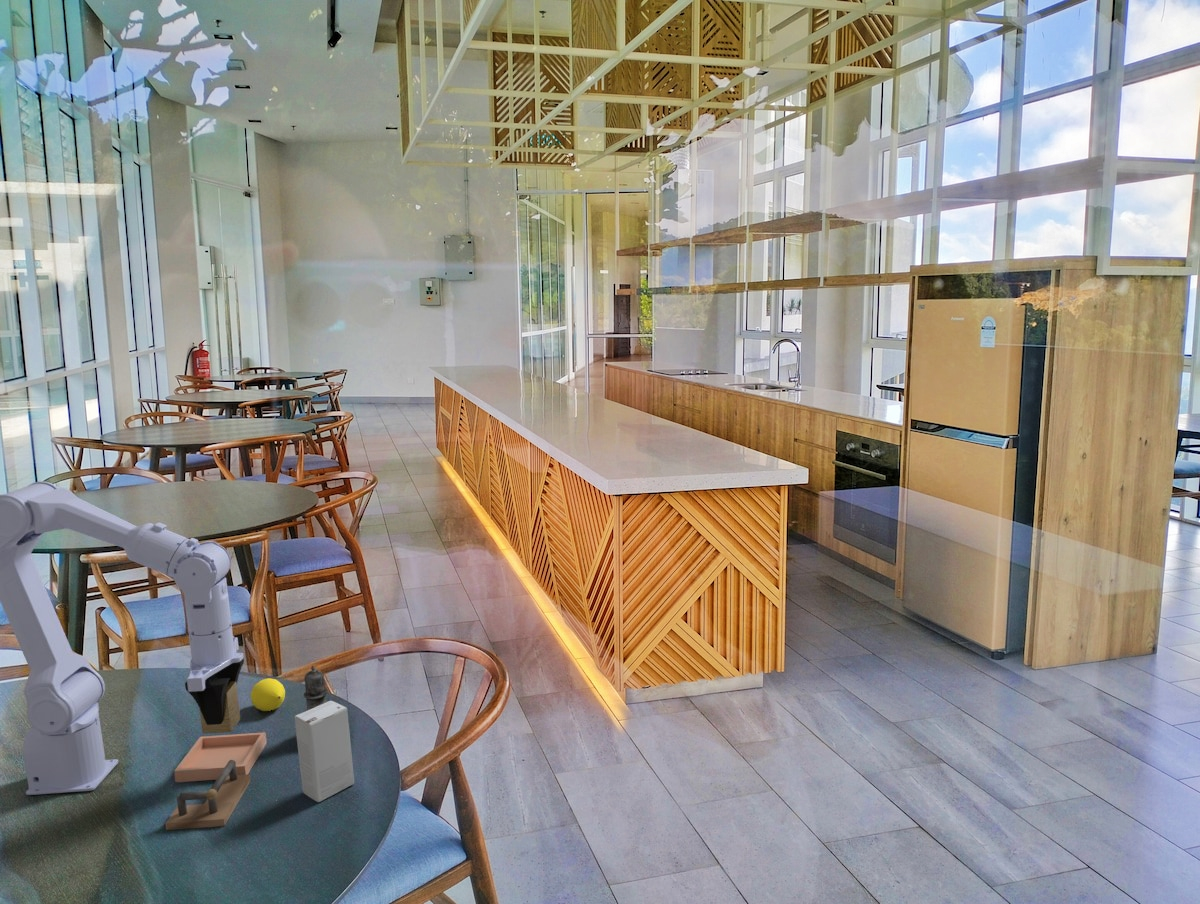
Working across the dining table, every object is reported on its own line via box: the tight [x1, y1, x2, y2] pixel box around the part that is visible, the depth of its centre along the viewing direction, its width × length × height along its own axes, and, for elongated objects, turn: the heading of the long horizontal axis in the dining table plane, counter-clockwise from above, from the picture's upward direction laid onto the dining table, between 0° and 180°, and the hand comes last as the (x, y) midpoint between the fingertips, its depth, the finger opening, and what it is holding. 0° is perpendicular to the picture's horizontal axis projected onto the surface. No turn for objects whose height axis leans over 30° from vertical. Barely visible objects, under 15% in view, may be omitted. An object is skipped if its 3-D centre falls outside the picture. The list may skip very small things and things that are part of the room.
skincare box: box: [294, 700, 355, 803], centre depth 121 cm, size 6×4×12 cm
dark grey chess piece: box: [303, 665, 328, 711], centre depth 137 cm, size 6×6×12 cm
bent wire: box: [164, 760, 252, 831], centre depth 120 cm, size 8×11×4 cm
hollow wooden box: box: [199, 681, 241, 734], centre depth 127 cm, size 4×4×6 cm
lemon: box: [249, 677, 286, 712], centre depth 147 cm, size 7×5×5 cm
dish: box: [173, 731, 268, 783], centre depth 131 cm, size 10×10×2 cm
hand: (220, 715), depth 127 cm, fingers closed on hollow wooden box, 4 cm apart
